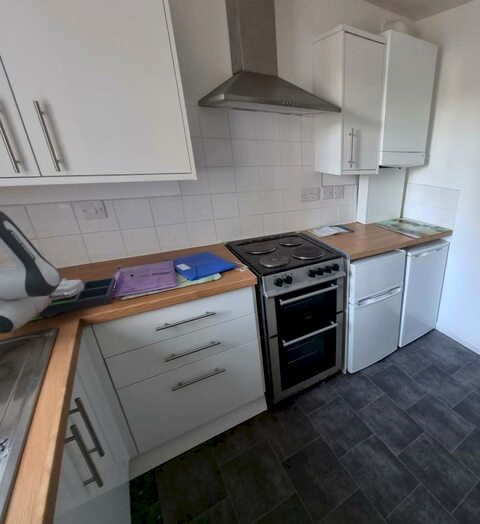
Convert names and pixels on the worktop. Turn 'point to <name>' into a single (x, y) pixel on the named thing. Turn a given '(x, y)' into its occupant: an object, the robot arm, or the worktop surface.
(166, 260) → the worktop surface
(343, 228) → the worktop surface
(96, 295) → the grid
